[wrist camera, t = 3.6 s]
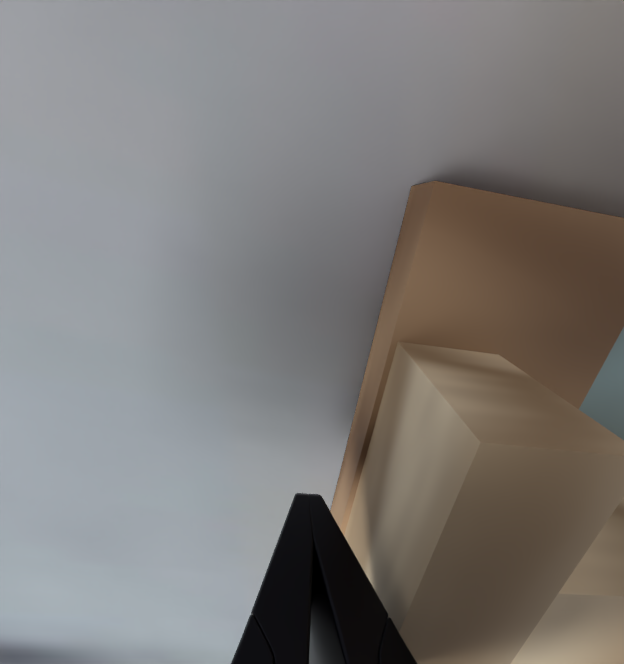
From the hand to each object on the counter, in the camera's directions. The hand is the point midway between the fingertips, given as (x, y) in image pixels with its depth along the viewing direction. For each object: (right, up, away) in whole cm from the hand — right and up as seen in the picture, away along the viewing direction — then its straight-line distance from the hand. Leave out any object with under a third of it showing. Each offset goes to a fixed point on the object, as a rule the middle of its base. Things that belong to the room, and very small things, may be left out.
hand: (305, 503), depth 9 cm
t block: (+7, -1, +2) cm, 7 cm away
